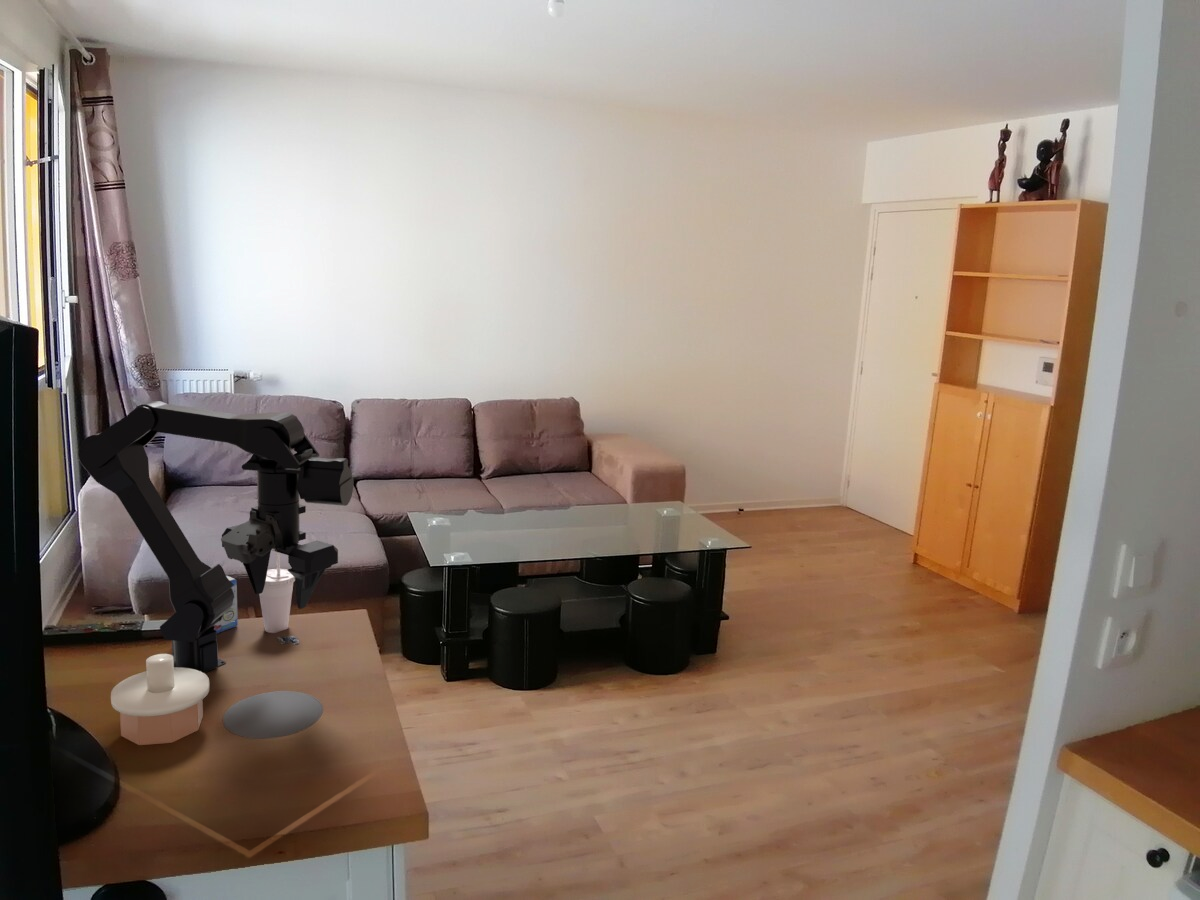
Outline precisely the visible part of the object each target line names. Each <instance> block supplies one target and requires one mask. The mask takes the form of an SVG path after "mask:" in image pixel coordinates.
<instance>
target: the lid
mask: <svg viewBox="0 0 1200 900" xmlns="http://www.w3.org/2000/svg"><path fill="white" fill-rule="evenodd" d="M145 666H146V667H145V668H146V671H145V670H144V671H143V672H140V673H136V674H134V675H130V676H129V677H127V678H124V679H123V680H121V681H120V682H119V683H117V684H116V685H115V686H114V687H113V688H112V689H111V692H110V703H111V704H110V705H111V706H112V708H113V709H114V710H115V711H117V712H119V714H120V713H123V714H126V715H132V716H158V715H165V714H170V713H174V712H177V711H181V710H184V709H186V708H189V707H191V706H193V705H195V704H197V703H198V702H200V701H201V700H202V699H203V700H204V698H206V696H208V694H209V692H210V679H209V677H208V675H207V674H206V673H203V672H201V671H198V670H195V669H190V668H180V667H174V660H173V654H169V653H158V654H153V655H151V656H149V657H147V658H146V660H145Z"/></svg>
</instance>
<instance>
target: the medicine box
mask: <svg viewBox="0 0 1200 900" xmlns="http://www.w3.org/2000/svg"><path fill="white" fill-rule="evenodd" d="M226 577H227V578H228V579H229V581H230V582H232V583H233V584H234V586H233V587H231V588H232V590H233V593H234V599H233V604H232V606H231V608H230V609H229V610H228V611H227V612H225V613H224V615H223V618H222V620H221V621H218V622H217V623H216V624H215V625H213V626H214V630H215V631H216V635H217V634H219V633H221V632H224V631H228V630H230V629H233V628H236V627H238V625H239V624H238V588H237V586H238V585H237V583H238V582H237V579H235V578H234V577H231V576H229V575H226ZM231 621H235V622H231Z"/></svg>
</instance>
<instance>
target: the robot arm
mask: <svg viewBox="0 0 1200 900" xmlns="http://www.w3.org/2000/svg"><path fill="white" fill-rule="evenodd" d="M304 430H305V429H304V426H303V424H302V422H301V421H300V420H299V418H298V417H297V416H296V415H294V414H293V413H290V412H262V413H261V412H260V413H252V414H237V413H230V412H224V411H217V410H216V411H215V410H211V409H204V408H198V407H197V408H196V407H190V406H185V405H184V406H183V405H177V404H172V403H171V404H170V403H166V402H164V401H161V400H153V401H150V402H146V403H143V404H140V405H137V406H135V408H134V409H133V410H131V411H130V412H129V413H128V414H127V415H125V416H124V417H122V418H121V419H120V420H118V421H116V422H115V423H114V424H112V425H110V426H109V427H107V428H106V429H104V430H103V431H101V432H99V433H95V434H92V435H90V436H89V435H88V436H87V437H86V438H84V439H83V440H82V441H81V443H80V445H79V450H78V452H77V457H78V460H79V462H80V465H81V466H82V467H83V468H84V470H86V471H87V473H88V474H89V475H90V476H91V477H92V479H93V480H94V481H95V482H96V483H97V484H99V485H101V486H102V487H104V488H105V489H107V490H109V491H110V492H112V493H113V494H115V495H116V497H118V500H119V501H120V502H121V504H122V505H123V508H124V509H125V511H126V512H127V514H128V516H129V517H130V518H131V520H132V522H133V524H134V525H135V527H136V528H137V530H138V531H139V533H140V534H141V536H142V538H143V539H144V541H145V543H146V544H147V546H148V547H149V549H150V551H151V553H152V554H153V555H154V557H155V558H156V560H157V561H158V564H159V565H160V566H161V568H162V570H163V571H164V573H165V574H166V576H167V578H168V585H169V587H168V588H169V589H168V590H169V601H170V602H171V605H172V607H173V610H174V612H175V613H174V614H172V615H171V616H170V617H169V618H168V619H167V620H166V621H164V622H163V623H162V624H161V625H160V627H159V630H160V633H161V634H162V637H163V639H164V640H165V641H171V647H172V649H171V650H172V654H171V655H172V656H173V660H174V667H180V668H190V669H195V670H198V671H201V672H203V673H204V674H206V673H208V672H210V671H212V670H215V669H217V668H220V667H222V666H224V665H226V664H227V661H226V660H223V659H221V658H219V650H218V641H217V638H218V637H217V634H216V631H215V630H214V626H213V625H215V624H216V623H217V622H218V621H221V620H222V618H223V615H224V613H225V612H227V611H228V610H229V609H230V608H231V606H232V604H233V599H234V593H233V590H232V588H231V587H233V586H234V584H233V583H232V582H230V581H229V579H228V578H227V577H226V576H227V575H226V573H225V570H224V568H223V567H222V565H221V564H220V563H217V564H216V565H214V566H213V567H211V566H209V565H207V564H206V563H204V562H203V561H201V559H200V558H199V557H198V555H197V554H196V552H195V550H194V548H193V547H192V545H191V544H190V542H189V540H188V539H187V537H186V536H185V534H184V532H183V531H182V529H181V527H180V526H179V525H178V523H177V521H176V519H175V518H174V516H173V514H172V513H171V511H170V510H169V508H168V506H167V505H166V503H165V501H164V500H163V499H162V497H161V495H160V494H159V492H158V490H157V489H156V487H155V485H154V484H153V482H152V480H151V478H150V465H149V457H148V454H147V452H146V449H145V448H144V447H145V446H147V445H148V444H149V443H150V442H151V441H152V440H154V439H155V438H156V436H157V435H159V433H161V434H166V435H167V434H168V435H174V436H175V435H176V436H180V437H187V438H193V439H194V438H196V439H202V440H207V441H214V442H221V443H227V444H230V445H232V446H233V445H234V446H235V447H238V448H239V449H241V450H242V451H244V452H246V453H249V454H251V455H252V456H251V457H250V458H249V459H248V460H247V461H246V462H245V463H244V464H242V465H241V469H242V470H243V471H255V472H256V478H257V479H256V481H257V483H256V484H257V487H256V488H257V506H253V507H251V509H250V510H249V520H247V521H246V522H243V523H240V524H238V525H237V524H236V525H234V526H233V525H232V526H229V527H226V528H225V530H224V531H223V533H222V534H221V538H220V541H221V547H222V548H223V549H224V551H225V553H226V556H227V558H228V559H229V560H236V561H239V562H240V563H242V565H243V567H244V569H245V571H246V573H247V574H246V575H247V576H248V579H249V581H250V583H251V587H252V588H253V592H254V593H255V594H256V595H259V594H261V593H262V592H263V589H264V586H265V581H266V576H267V570H269V569H268V568H269V563H270V558H271V551H272V552H275V553H276V552H279V553H280V554H283V555H285V556H286V555H287V557H288V558H287V560H288V561H287V562H288V564H289V566H290V567H291V568H287V570H288V571H289V572H290V573H291V574H292V575H293V576H294V577H295V581H294V582H295V583H294V584H295V585H294V586H295V596H296V597H295V598H296V603H297V609H299V610H302V609H304V608H306V607H307V605H308V602H309V600H310V598H311V596H312V594H313V592H314V591H315V588H316V587H317V584H319V583H318V582H319V581H320V579H321V577H322V576H323V574H324V573H325V571H326V570H327V569H329V568H332V566H335V565H337V564H339V549H338V548H337V547H336V546H335V545H334V544H330V543H328V542H323V541H321V540H313V541H311V542H308V543H307V542H306V543H303V544H299V543H300V542H299V541H304V540H306V536H307V532H305V531H302V530H301V529H300V515H302V514H305V513H306V510H307V509H306V505H303V504H301V503H300V500H303V501H304V502H305V503H307V504H318V505H329V506H331V505H332V506H343V507H344V506H347V505H349V503H350V501H351V499H352V496H353V492H354V482H355V481H354V479H355V478H354V477H353V475H352V469H351V468H350V467H349V460H348V458H346V457H345V458H344V457H336V458H329V457H328V458H327V457H320V453H319V452H318V450H317V449H316V447H315V446H314V445H313V444H312V443H311V441H310V439H309V438H308V437H307V435H306V433H305V431H304ZM292 451H294V452H296V453H293V452H292Z"/></svg>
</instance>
